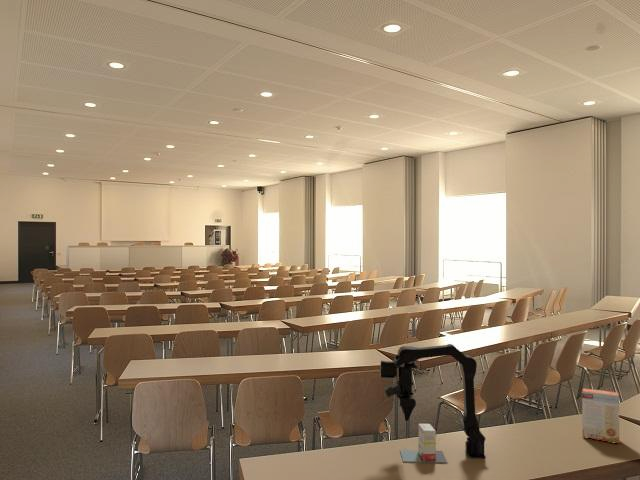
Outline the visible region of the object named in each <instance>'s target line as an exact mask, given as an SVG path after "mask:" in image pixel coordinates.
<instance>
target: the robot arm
mask: <svg viewBox="0 0 640 480" xmlns="http://www.w3.org/2000/svg"><path fill="white" fill-rule="evenodd" d="M446 356H451V357H452V358H453V359H455V360H456V361H457V362H458V365H459V370H460V372H461V376H462V384H463V385H462V387H463V389H462V391H463V392H462V393H463V407H464V408H463V415H459V419H460V420H459V421H460V422H459V426H460V428H461V429H462V431H463V432H464V434H465V435H466V441H465V442H464V443H465V454H467V456H468V457H469V458H479V459H480V458H481V459H482V458H483V459H485V458H486V455H485V441H486V437H485V436H484V434H483V433H482V431H481V430H480V425H479V422H478V418H477V416H476V415H477V414H476V402H475V401H476V400H475V381H474V379H475V376H476V373H477V366H478V364H477V360H475V359H474V357H472V356H471V355H469V354H465V353H463V352H462V351H461V350H459V349H458V348H457V347H456V346H454V345H453V344H451V343H448V344H444V345H443V344H442V345H434V346H433V345H432V346H423V347H416V346H409V345H408V346H407V345H403V346H401V347H399V348H398V350H397V354H396V355H395V357H394V359H393V360H392V361H390V360H389V361H386V360H380V365H379V366H380V367H379V378H380V379H395V378H396V377H397V376H398V377H397V380H396V382H395V383H391V384H389V385H386V386H384V387H383V389H384V393H385V395H386V397H387V398H391V397H392V396H394V395H396V397H397V398H398V404H399V407H401V410H402V413H403V417H404V420H405V421H406V422H408V421H409V419H410V417H411V415H412V412H413V411H414V409H415V407H416V406H417V401H416V398H415V397H414V391H413V386H414V382H413V369H418V366H417V364H416V363H415V362H416V361H418V360H421V359H425V358H427V359H428V358H437V357H446Z"/></svg>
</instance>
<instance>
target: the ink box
mask: <svg viewBox="0 0 640 480" xmlns="http://www.w3.org/2000/svg"><path fill="white" fill-rule="evenodd" d="M436 436H437V431H436V430H435V428H434V427H433V426H432V424H431V423H418V445H417V448H418V449H417V451H418V454H419V456H420V458H422V461H436V451H437V450H436V449H437V447H436V443H437V441H436V440H437V437H436Z"/></svg>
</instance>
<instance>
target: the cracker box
mask: <svg viewBox="0 0 640 480" xmlns="http://www.w3.org/2000/svg"><path fill="white" fill-rule="evenodd" d="M619 397H620V395H619V392H616V391H609V390H608V391H607V390H599V389H594V388H582V392H581V407H582V408H581V414H582V415H581V416H582V417H581V418H582V420H581V423H582V426H581V427H582V432H581V433H582V438H583V437H588V438H592V439H599V440H604V441H610V442H615V443H619V444H620V398H619ZM592 439H591V440H592Z"/></svg>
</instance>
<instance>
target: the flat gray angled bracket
mask: <svg viewBox="0 0 640 480" xmlns="http://www.w3.org/2000/svg"><path fill="white" fill-rule="evenodd" d="M399 451H400V456H401V459H402V462H403V463H411V464H412V463H416V464H418V463H420V464H427V463H428V464H448V460H447V458H446V456H445V455H444V452H443V450H436V460H435V461H424V460H421V456H420V454H419V453H418V449H399Z"/></svg>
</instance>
